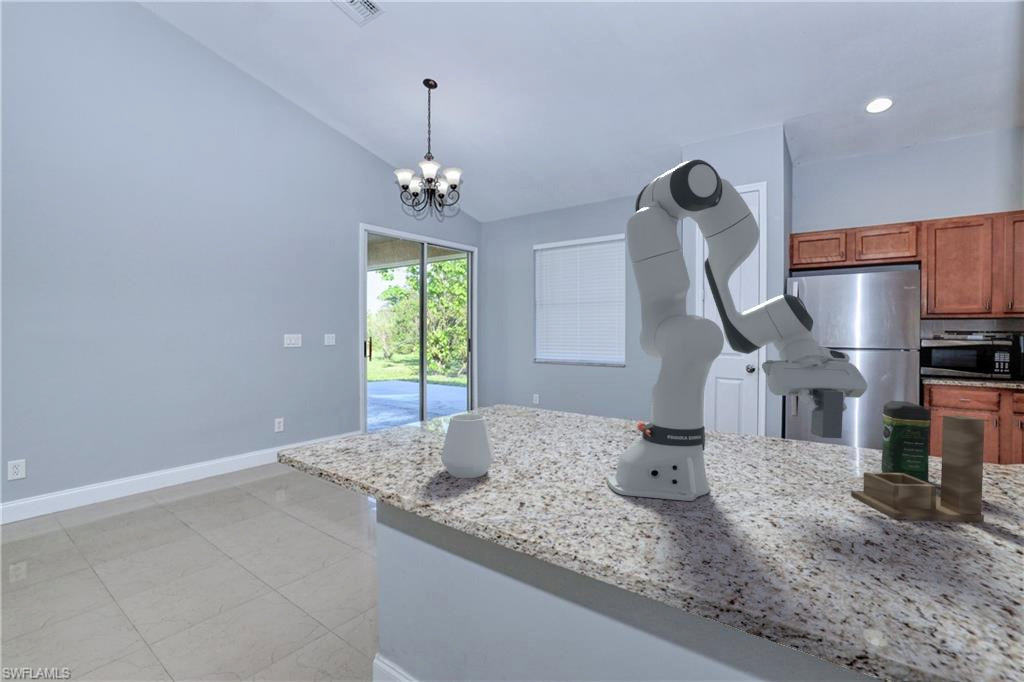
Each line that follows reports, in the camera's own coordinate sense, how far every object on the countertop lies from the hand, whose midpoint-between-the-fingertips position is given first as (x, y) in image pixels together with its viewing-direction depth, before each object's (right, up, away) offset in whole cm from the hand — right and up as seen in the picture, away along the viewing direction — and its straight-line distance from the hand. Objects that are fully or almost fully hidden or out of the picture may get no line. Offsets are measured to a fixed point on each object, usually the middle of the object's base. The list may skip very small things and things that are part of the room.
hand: (828, 409), depth 99 cm
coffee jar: (+26, -19, +11) cm, 34 cm away
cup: (-80, -18, +15) cm, 84 cm away
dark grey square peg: (0, -6, +1) cm, 6 cm away
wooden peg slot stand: (+12, -19, -7) cm, 23 cm away
